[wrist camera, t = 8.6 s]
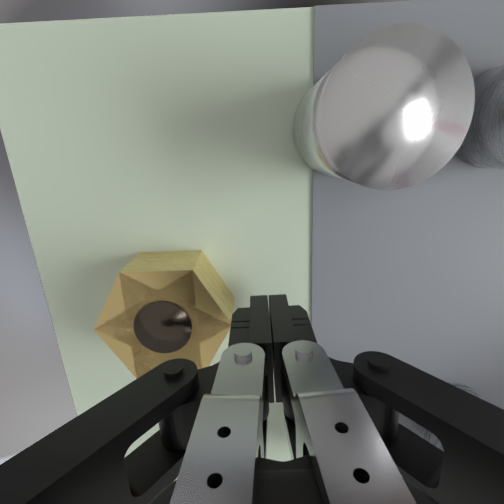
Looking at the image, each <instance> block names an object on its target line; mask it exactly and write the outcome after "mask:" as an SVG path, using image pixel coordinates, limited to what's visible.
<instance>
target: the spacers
mask: <svg viewBox="0 0 504 504" xmlns="http://www.w3.org/2000/svg"><path fill="white" fill-rule="evenodd" d="M293 139H294V143H295V146H296V149H297V151H298V153H299V155H300V156H301V158H302V159H303V161H304V162H305V163H306V164H307V165H308V166H310V167H311V168H312V169H314V170H315V171H317V172H320V173H322V174H326V175H329V176H332V177H335V178H339V179H342V180H345V181H348V182H352V183H355V184H358V185H361V186H365V187H368V188H371V189H377V190H398V189H403V188H407V187H411V186H413V185H416V184H419V183H421V182H423V181H424V180H426V179H428V178H430V177H431V176H433V175H434V174H436V173H437V172H438V171H439V170H440V169H442V168H443V167H444V166H445V165H446V164H447V163H448V162H449V161H450V159H451V158H452V157H453V156H454V154H455V153H456V154H457V155H458V157H459V158H461V159H462V160H463V161H464V162H466V163H467V164H469V165H471V166H475V167H479V168H489V169H503V170H504V65H503V66H500V67H497V68H494V69H491V70H489V71H486V72H484V73H483V74H481V75H479V76H478V77H476V78H475V79H474V80H473V76H472V72H471V69H470V66H469V64H468V62H467V60H466V57H465V56H464V54H463V53H462V51H461V50H460V48H459V47H458V46H457V45H456V44H455V43H454V42H453V41H452V40H451V39H450V38H449V37H447V36H446V35H445V34H443V33H442V32H440V31H438V30H436V29H434V28H431V27H428V26H425V25H420V24H407V23H404V24H396V25H391V26H388V27H384V28H381V29H379V30H377V31H375V32H372V33H371V34H369V35H367V36H366V37H364V38H362V39H361V40H360V41H359V42H357V43H356V44H355V45H354V46H353V47H352V48H351V49H350V50H349V51H348V52H347V53H346V54H345V55H344V56H343V57H342V58H341V59H340V60H339V61H338V62H337V63H336V64H335V65H334V66H333V67H332V68H331V69H330V70H329V71H328V72H327V73H326V74H325V75H324V76H323V77H322V78H321V79H320V80H319V81H318V82H317V83H316V84H315V85H314V86H313V87H312V88H311V89H310V90H309V91H308V92H307V93H306V94H305V95H304V97H303V98H302V100H301V101H300V103H299V105H298V107H297V109H296V112H295V116H294V120H293ZM450 384H451V385H453V386H455V387H457V388H460V389H462V390H464V391H466V392H468V393H470V394H472V395H474V396H476V397H478V398H480V399H482V400H484V399H483V398H482V397H481V396H480V395H479V394H478V393H477V392H476V391H475V390H474V389H472V388H471V387H469V386H466V385H463V384H457V383H450ZM412 423H413V425H414V427H415V429H416V431H417V432H418V434H419V436H420V437H422V438H423V439H425V440H426V441H428V442H430V443H431V444H433V445H434V446H436V447H437V448H439V449H440V450H442V451H444V449H443V446H442V444H441V442H440V440H439V439H438V438H437V437H436V436H435V435H434V434H433V433H431V432H430V431H428V430H427V429H425V428H423V427H422V426H420V425H419V424H417V423H415V422H414V421H412Z"/></svg>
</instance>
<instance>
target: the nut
mask: <svg viewBox="0 0 504 504" xmlns="http://www.w3.org/2000/svg"><path fill="white" fill-rule="evenodd" d="M234 304H235V297H234V295H233V294H232V293H231V291H230V290H229V288H228V287H227V285H226V284H225V283H224V281H223V280H222V278H221V277H220V275H219V274H218V273H217V271H216V270H215V268H214V267H213V265H212V264H211V263H210V261H209V260H208V258H207V257H206V255H205V254H204V253H203V251H202V250H195V251H163V252H140V253H139V254H138V255H137V256H136V257H135V258H134V259H133V260H132V261H130V262H129V263H128V264H127V265H126V266H125V267H124V268H123V269H122V270H121V271H120V272H119V273H118V276H117V278H116V280H115V282H114V285H113V287H112V289H111V291H110V294H109V296H108V298H107V300H106V303H105V305H104V307H103V310H102V312H101V314H100V316H99V319H98V321H97V323H96V325H95V328H94V331H95V332H96V333H97V334H98V335H99V336H100V338H101V339H102V340H103V341H104V342H105V343H106V344H107V345H108V347H109V348H110V349H111V350H112V351H113V352H114V353H115V355H116V356H117V357H118V358H119V359H120V360H121V361H122V363H123V364H124V365H125V366H126V367H127V368H128V369H129V371H130V372H131V373H132V374H133V375H134V376H135V377H136V379H137V378H139V377H140V376H142V375H144V374H145V373H147V372H148V371H150V370H152V369H153V368H155V367H156V366H158V365H159V364H161V363H163V362H165V361H168V360H171V359H178V358H183V359H188V360H191V361H193V362H194V363H195V364H196V366H197V369H201V368H205V367H208V366H209V365H210V363H211V361H212V359H213V358H214V356H215V354H216V353H217V351H218V349H219V347H220V346H221V344H222V342H223V341H224V339H225V337H226V336H227V334H228V332H229V330H230V329H231V320H232V314H233V313H234Z"/></svg>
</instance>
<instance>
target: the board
mask: <svg viewBox="0 0 504 504" xmlns="http://www.w3.org/2000/svg"><path fill="white" fill-rule="evenodd" d="M404 23H407V24H420V25H425V26H428V27H431V28H434V29H436V30H438V31H440V32H442V33H443V34H445V35H446V36H447V37H449V38H450V39H451V40H452V41H453V42H454V43H455V44H456V45H457V46H458V47H459V48H460V50H461V51H462V53H463V54H464V56H465V57H466V60H467V62H468V64H469V66H470V69H471V72H472V76H473V80H474V79H475V78H476V77H478V76H479V75H481V74H483V73H484V72H486V71H489V70H491V69H494V68H497V67H500V66H503V65H504V0H413V1H393V2H375V3H357V4H337V5H319V6H314V7H304V8H284V9H265V10H247V11H228V12H209V13H190V14H172V15H154V16H134V17H115V18H96V19H79V20H59V21H41V22H21V23H3V24H0V130H1V134H2V137H3V141H4V145H5V148H6V152H7V156H8V160H9V163H10V167H11V171H12V175H13V178H14V182H15V186H16V189H17V193H18V197H19V200H20V204H21V208H22V212H23V215H24V219H25V223H26V227H27V230H28V234H29V238H30V241H31V245H32V249H33V253H34V257H35V260H36V264H37V268H38V271H39V275H40V279H41V283H42V287H43V290H44V294H45V297H46V301H47V305H48V309H49V313H50V316H51V320H52V324H53V327H54V331H55V335H56V339H57V342H58V346H59V350H60V354H61V357H62V361H63V365H64V368H65V372H66V376H67V380H68V383H69V387H70V391H71V394H72V398H73V402H74V406H75V409H76V413H77V416H79V415H80V414H82V413H83V412H85V411H87V410H88V409H90V408H91V407H93V406H95V405H96V404H98V403H99V402H101V401H102V400H104V399H106V398H107V397H109V396H110V395H112V394H114V393H115V392H117V391H118V390H120V389H121V388H123V387H125V386H126V385H128V384H129V383H131V382H133V381H134V380H136V377H135V376H134V375H133V374H132V373H131V372H130V371H129V369H128V368H127V367H126V366H125V365H124V364H123V363H122V361H121V360H120V359H119V358H118V357H117V356H116V355H115V353H114V352H113V351H112V350H111V349H110V348H109V347H108V345H107V344H106V343H105V342H104V341H103V340H102V339H101V338H100V336H99V335H98V334H97V333H96V332H95V331H94V328H95V325H96V323H97V321H98V319H99V316H100V314H101V312H102V310H103V307H104V305H105V303H106V300H107V298H108V296H109V294H110V291H111V289H112V287H113V285H114V282H115V280H116V278H117V276H118V273H119V272H120V271H121V270H122V269H123V268H124V267H125V266H126V265H127V264H128V263H129V262H130V261H132V260H133V259H134V258H135V257H136V256H137V255H138V254H139V253H140V252H163V251H195V250H202V251H203V253H204V254H205V255H206V257H207V258H208V260H209V261H210V263H211V264H212V265H213V267H214V268H215V270H216V271H217V273H218V274H219V275H220V277H221V278H222V280H223V281H224V283H225V284H226V285H227V287H228V288H229V290H230V291H231V293H232V294H233V295H234V297H235V304H234V312H235V311H236V310H237V308H247V307H250V296H257V295H267V296H268V306H269V295H278V294H286V296H287V301H288V305H289V306H291V305H300V306H301V307H302V308H304V309H305V310H306V311H307V314H308V317H309V320H310V323H311V326H312V329H313V332H314V335H315V338H316V341H317V344H319V345H320V346H322V347H323V348H324V349H325V351H326V353H327V355H328V357H330V358H332V359H335V360H339V361H344V362H349V363H354V358H355V357H356V356H357V355H358V354H360V353H362V352H366V351H377V352H382V353H386V354H388V355H391V356H393V357H395V358H397V359H399V360H401V361H403V362H405V363H408V364H410V365H412V366H414V367H416V368H418V369H420V370H422V371H424V372H426V373H428V374H430V375H432V376H435V377H437V378H439V379H441V380H443V381H445V382H447V383H449V384H450V383H457V384H463V385H466V386H469V387H471V388H472V389H474V390H475V391H476V392H477V393H478V394H479V395H480V396H481V397H482V398H483V399H484V400H485V401H487V402H489V403H491V404H493V405H495V406H497V407H499V408H501V409H503V410H504V170H503V169H489V168H479V167H475V166H471V165H469V164H467V163H466V162H464V161H463V160H462V159H461V158H459V157H458V155H457V154H456V153H455V154H454V156H453V157H452V158H451V159H450V161H449V162H448V163H447V164H446V165H445V166H444V167H443V168H442V169H440V170H439V171H438V172H437V173H436V174H434V175H433V176H431V177H430V178H428V179H426V180H424V181H423V182H421V183H419V184H416V185H413V186H411V187H407V188H403V189H398V190H377V189H371V188H368V187H365V186H361V185H358V184H355V183H352V182H348V181H345V180H342V179H339V178H335V177H332V176H329V175H326V174H322V173H320V172H317V171H315V170H314V169H312V168H311V167H310V166H308V165H307V164H306V163H305V162H304V161H303V159H302V158H301V156H300V155H299V153H298V151H297V149H296V146H295V143H294V139H293V120H294V116H295V112H296V109H297V107H298V105H299V103H300V101H301V100H302V98H303V97H304V95H305V94H306V93H307V92H308V91H309V90H310V89H311V88H312V87H313V86H314V85H315V84H316V83H317V82H318V81H319V80H320V79H321V78H322V77H323V76H324V75H325V74H326V73H327V72H328V71H329V70H330V69H331V68H332V67H333V66H334V65H335V64H336V63H337V62H338V61H339V60H340V59H341V58H342V57H343V56H344V55H345V54H346V53H347V52H348V51H349V50H350V49H351V48H352V47H353V46H354V45H355V44H356V43H357V42H359V41H360V40H361V39H362V38H364V37H366V36H367V35H369V34H371V33H372V32H375V31H377V30H379V29H381V28H384V27H388V26H391V25H396V24H404ZM229 335H230V330H229V332H228V334H227V336H226V337H225V339H224V341H223V342H222V344H221V346H220V347H219V349H218V351H217V353H216V354H215V356H214V358H213V359H212V361H211V363H210V365H209V366H212V365H214V364H216V363H218V362H219V361H220V359H221V355H222V353H223V351H224V350H225V349H226V348H228V343H229ZM273 380H274V374H273ZM399 423H400V424H401V425H403V426H404V427H406V428H408V429H409V430H411V431H412V432H414V433H415V434H417V435H419V434H418V432H417V431H416V429H415V427H414V425H413V423H412V420H410V419H409V418H407V417H405V416H404V415H402V414H401V413H400V414H399ZM158 430H159V423H157V424H156V425H155V426H154V427H152V428H151V429H150V430H149V431H147V432H146V433H145V434H144V435H142V436H141V437H140V438H139V439H137V440H136V441H135V442H134V443H133V444H132V445H131V446H130V447H129V449H128V450H127V452H126V454H125V457H126V456H127V455H129V454H130V453H131V452H132V451H134V450H135V449H136V448H137V447H139V446H140V445H141V444H142V443H143V442H145V441H146V440H147V439H148V438H150V437H151V436H152V435H153V434H155V433H156V432H157V431H158ZM267 459H271V460H276V461H282V462H284V461H289V460H291V455H290V450H289V445H288V441H287V436H286V431H285V426H284V411H283V402H279V403H276V396H275V385H274V403H269V415H268V434H267ZM177 478H178V477H177ZM177 478H176V479H175V480H177ZM175 480H174V481H175Z"/></svg>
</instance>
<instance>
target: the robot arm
mask: <svg viewBox="0 0 504 504" xmlns="http://www.w3.org/2000/svg"><path fill="white" fill-rule="evenodd" d="M273 374H274V380H273ZM274 385H275V396H276V403H279V402H283V411H284V426H285V431H286V436H287V441H288V445H289V450H290V455H291V460H289V461H284V462H282V461H276V460H271V459H267V434H268V415H269V403H274ZM400 413H401V414H402V415H404V416H405V417H407V418H409V419H410V420H412V421H414V422H415V423H417V424H419V425H420V426H422V427H423V428H425V429H427V430H428V431H430V432H431V433H433V434H434V435H435V436H436V437H437V438H438V439H439V440H440V442H441V444H442V446H443V449H444V451H442V450H440V449H439V448H437V447H436V446H434V445H433V444H431V443H430V442H428V441H426V440H425V439H423V438H422V437H420V436H419V435H417V434H415V433H414V432H412V431H411V430H409V429H408V428H406V427H404V426H403V425H401V424H400V423H399V414H400ZM157 423H159V430H158V431H157V432H156V433H155V434H153V435H152V436H151V437H150V438H148V439H147V440H146V441H145V442H143V443H142V444H141V445H140V446H139V447H137V448H136V449H135V450H134V451H132V452H131V453H130V454H129V455H127V456H126V457H125V454H126V452H127V450H128V449H129V447H130V446H131V445H132V444H133V443H134V442H135V441H136V440H137V439H139V438H140V437H141V436H142V435H144V434H145V433H146V432H147V431H149V430H150V429H151V428H152V427H154V426H155V425H156V424H157ZM177 477H178V478H177ZM176 478H177V480H175V479H176ZM174 480H175V481H174ZM173 481H174V482H173ZM0 504H504V410H503V409H501V408H499V407H497V406H495V405H493V404H491V403H489V402H487V401H485V400H482V399H480V398H478V397H476V396H474V395H472V394H470V393H468V392H466V391H464V390H462V389H460V388H457V387H455V386H453V385H451V384H449V383H447V382H445V381H443V380H441V379H439V378H437V377H435V376H432V375H430V374H428V373H426V372H424V371H422V370H420V369H418V368H416V367H414V366H412V365H410V364H408V363H405V362H403V361H401V360H399V359H397V358H395V357H393V356H391V355H388V354H386V353H382V352H377V351H366V352H362V353H360V354H358V355H357V356H356V357H355V358H354V363H349V362H344V361H339V360H335V359H332V358H330V357H328V355H327V353H326V351H325V349H324V348H323V347H322V346H320V345H319V344H317V341H316V338H315V335H314V332H313V329H312V326H311V323H310V320H309V317H308V314H307V311H306V310H305V309H304V308H302V307H301V306H300V305H291V306H289V305H288V301H287V296H286V294H278V295H269V306H268V296H267V295H257V296H250V307H247V308H237V310H236V311H235V312H234V313H233V314H232V320H231V329H230V335H229V343H228V348H226V349H225V350H224V351H223V353H222V355H221V359H220V361H219V362H218V363H216V364H214V365H212V366H208V367H205V368H201V369H197V366H196V364H195V363H194V362H193V361H191V360H188V359H183V358H178V359H171V360H168V361H165V362H163V363H161V364H159V365H158V366H156V367H155V368H153V369H152V370H150V371H148V372H147V373H145V374H144V375H142V376H140V377H139V378H137V379H136V380H134V381H133V382H131V383H129V384H128V385H126V386H125V387H123V388H121V389H120V390H118V391H117V392H115V393H114V394H112V395H110V396H109V397H107V398H106V399H104V400H102V401H101V402H99V403H98V404H96V405H95V406H93V407H91V408H90V409H88V410H87V411H85V412H83V413H82V414H80V415H79V416H77V417H76V418H74V419H73V420H71V421H69V422H68V423H66V424H64V425H63V426H62V427H60V428H58V429H57V430H55V431H54V432H52V433H50V434H49V435H47V436H46V437H44V438H42V439H41V440H39V441H38V442H36V443H34V444H33V445H31V446H30V447H28V448H26V449H25V450H23V451H22V452H20V453H18V454H17V455H15V456H14V457H12V458H11V459H9V460H7V461H6V462H4V463H3V464H1V465H0Z"/></svg>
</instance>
